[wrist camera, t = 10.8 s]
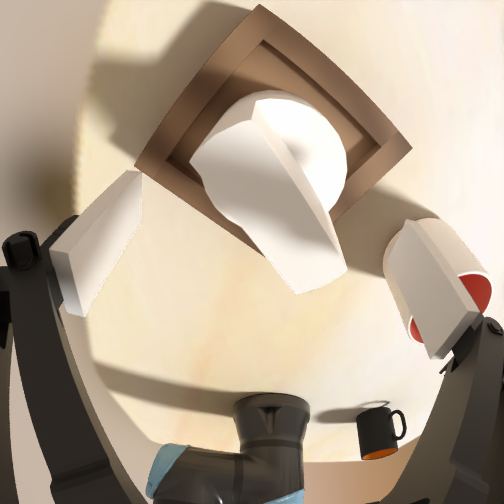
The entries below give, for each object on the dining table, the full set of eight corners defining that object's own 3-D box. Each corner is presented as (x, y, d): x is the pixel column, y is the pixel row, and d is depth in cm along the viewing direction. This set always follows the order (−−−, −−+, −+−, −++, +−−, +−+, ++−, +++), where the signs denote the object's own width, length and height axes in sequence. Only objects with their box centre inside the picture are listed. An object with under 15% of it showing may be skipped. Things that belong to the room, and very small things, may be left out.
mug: (409, 402, 55) (419, 442, 47) (370, 423, 61) (376, 460, 53) (389, 397, 53) (398, 440, 44) (348, 419, 59) (353, 459, 50)
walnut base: (279, 243, 32) (281, 268, 28) (150, 150, 26) (133, 165, 23) (393, 135, 24) (412, 148, 21) (260, 12, 19) (259, 3, 15)
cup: (372, 229, 30) (403, 295, 22) (451, 201, 28) (499, 255, 20) (385, 293, 36) (408, 357, 27) (453, 267, 33) (487, 324, 25)
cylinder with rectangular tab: (348, 163, 23) (402, 246, 14) (256, 214, 27) (250, 318, 17) (290, 68, 19) (315, 73, 9) (192, 131, 22) (135, 195, 13)
